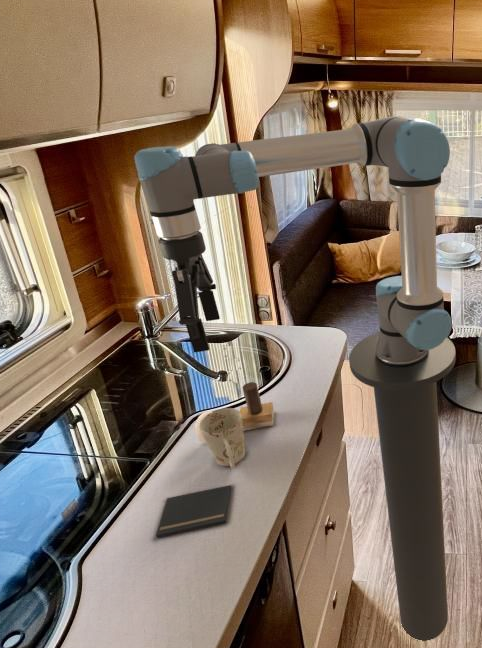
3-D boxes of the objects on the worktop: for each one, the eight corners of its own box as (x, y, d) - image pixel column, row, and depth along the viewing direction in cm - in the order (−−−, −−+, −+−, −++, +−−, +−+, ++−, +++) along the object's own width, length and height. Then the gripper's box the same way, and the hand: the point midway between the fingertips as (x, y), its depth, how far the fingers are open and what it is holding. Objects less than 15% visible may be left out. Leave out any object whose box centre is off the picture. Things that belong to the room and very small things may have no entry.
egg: (233, 440, 114) (225, 413, 110) (205, 454, 110) (196, 426, 107) (222, 428, 118) (214, 400, 115) (195, 441, 114) (186, 413, 111)
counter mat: (231, 487, 101) (230, 484, 101) (225, 522, 93) (225, 520, 93) (168, 500, 99) (167, 497, 98) (156, 537, 91) (155, 535, 91)
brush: (274, 413, 122) (266, 377, 118) (274, 425, 118) (265, 389, 114) (243, 419, 121) (234, 383, 116) (241, 431, 117) (231, 395, 112)
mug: (245, 438, 114) (236, 403, 110) (260, 471, 105) (250, 434, 100) (207, 453, 110) (196, 417, 106) (219, 489, 101) (207, 451, 96)
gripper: (173, 219, 103) (199, 311, 112) (138, 259, 81) (174, 369, 90) (211, 215, 104) (234, 306, 113) (187, 253, 82) (218, 362, 91)
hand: (207, 334), depth 102 cm, fingers open, 13 cm apart
